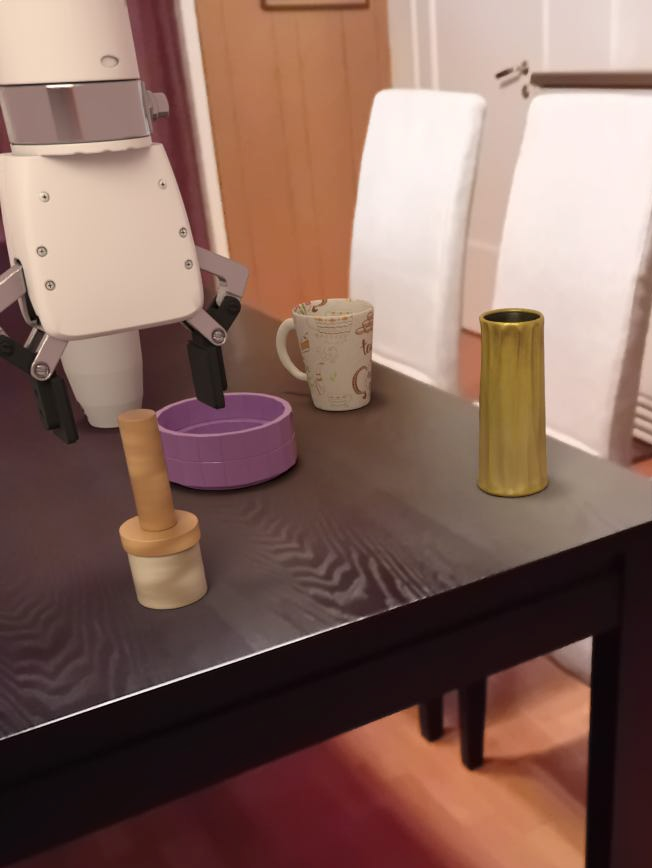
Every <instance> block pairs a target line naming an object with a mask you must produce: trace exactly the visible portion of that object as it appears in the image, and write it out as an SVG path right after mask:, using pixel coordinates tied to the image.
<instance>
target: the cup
mask: <svg viewBox="0 0 652 868" xmlns="http://www.w3.org/2000/svg"><path fill="white" fill-rule="evenodd" d="M141 345H142V344H141V338H140V331H139V330H135V331H129V332H124V333H118V334H113V335H107V336H101V337H96V338H90V339H83V340H76V341H69V342H68V344H67V346H66V348H65V350H64V352H63V354H62V356H61V358H60V361H61V366H62V368H63V371H64V374H65V375H66V378H67V380H68V383H69V385H70V387H71V390H72V393H73V395H74V398H75V401H76V402H77V404H78V405H79V407H80V409H81V410H82V412H83V414H84V416H85V418H86V419H87V422H88V424H90V426H92V427H94V428H100V429H109V428H110V429H112V428H114V429H115V428H119V425H118V420H117V416H118V415H119V414H120V413H123V412H125V411H129V410H134V409H142V406H143V400H144V399H143V397H144V374H143V373H144V371H143V370H144V369H143V368H144V367H143V365H144V364H143V353H142V347H141Z"/></svg>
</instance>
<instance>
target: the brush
mask: <svg viewBox="0 0 652 868" xmlns="http://www.w3.org/2000/svg"><path fill="white" fill-rule="evenodd" d="M155 412H156V411H155V410H154V409H151V408H150V409H149V408H141V409H134V410H129V411H125V412H123V413H120V414H119V415H118V416H117V420H118V425H119V427H118V428H119V434H120V438H121V443H122V448H123V451H124V457H125V462H126V466H127V471H128V476H129V480H130V485H131V490H132V494H133V499H134V504H135V509H136V512H137V515H135V516H134V517H131V518H128V519H127V520H126V521H124V522H123V523H122V524H120V526H119V530H118V533H119V537H120V542H121V546H122V549H123V550H124V551H125V552H126V555H127V558H128V559H127V560H128V564H129V568H130V572H131V576H132V581H133V585H134V589H135V594H136V598H137V601H138V603H139V604H140V605H141V606H143V607H145V608H148V609H152V610H173V609H178V608H183V607H187V606H189V605H192V604H194V603H196V602H198V601H199V600H201V599H202V598H203V597H204V596H206V594H207V592H208V583H207V579H206V573H205V572H206V571H205V567H204V561H203V557H202V550H201V546H200V545H201V544H200V540H201V536H202V534H201V529H200V522H199V519H198V517H197V516H196V514H194V513H192V512H190V511H186V510H182V509H181V510H180V509H175V506H174V505H175V504H174V500H173V494H172V490H171V484H170V481H169V479H168V474H167V468H166V463H165V458H164V453H163V448H162V443H161V437H160V432H159V427H158V422H157V417H156V413H155Z"/></svg>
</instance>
